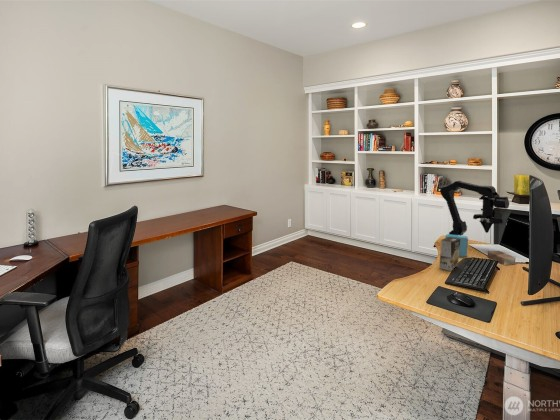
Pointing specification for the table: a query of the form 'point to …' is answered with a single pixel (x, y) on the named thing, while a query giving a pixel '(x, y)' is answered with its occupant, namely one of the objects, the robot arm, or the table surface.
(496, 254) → the walnut block
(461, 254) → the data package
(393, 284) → the table surface
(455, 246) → the coffee box
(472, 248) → the table surface
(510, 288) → the table surface
